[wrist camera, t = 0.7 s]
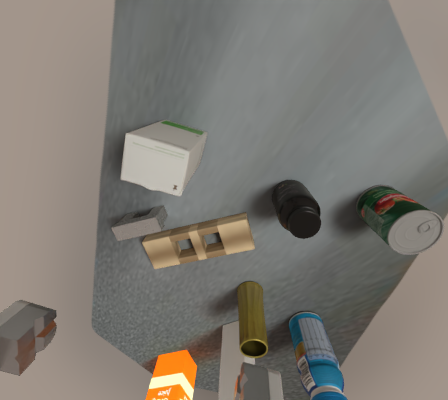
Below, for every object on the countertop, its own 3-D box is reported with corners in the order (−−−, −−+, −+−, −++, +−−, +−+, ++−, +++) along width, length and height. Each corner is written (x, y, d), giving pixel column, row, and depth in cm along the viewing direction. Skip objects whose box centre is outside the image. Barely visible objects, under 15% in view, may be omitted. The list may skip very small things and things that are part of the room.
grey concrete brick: (124, 213, 50) (111, 227, 45) (164, 203, 49) (155, 217, 43) (130, 225, 51) (118, 241, 46) (169, 216, 50) (161, 231, 44)
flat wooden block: (146, 234, 52) (141, 242, 49) (245, 212, 49) (246, 219, 46) (158, 260, 55) (154, 269, 52) (253, 240, 51) (254, 249, 49)
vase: (261, 301, 58) (268, 361, 45) (236, 299, 58) (235, 358, 45) (264, 281, 56) (272, 339, 43) (237, 280, 56) (238, 336, 43)
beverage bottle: (315, 305, 58) (351, 403, 39) (327, 327, 61) (365, 428, 42) (282, 316, 60) (302, 414, 41) (295, 337, 63) (319, 438, 44)
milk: (222, 324, 62) (214, 435, 42) (244, 318, 61) (246, 429, 41) (232, 339, 64) (229, 452, 44) (253, 333, 63) (260, 446, 43)
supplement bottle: (313, 199, 47) (336, 232, 36) (282, 217, 49) (295, 252, 38) (296, 171, 45) (315, 196, 34) (264, 190, 47) (273, 220, 36)
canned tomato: (367, 228, 49) (401, 263, 39) (348, 200, 47) (378, 230, 37) (405, 206, 47) (452, 237, 36) (387, 176, 44) (431, 200, 34)
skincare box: (208, 132, 43) (193, 150, 28) (199, 166, 45) (182, 199, 31) (162, 118, 42) (124, 130, 28) (156, 154, 45) (118, 181, 31)
